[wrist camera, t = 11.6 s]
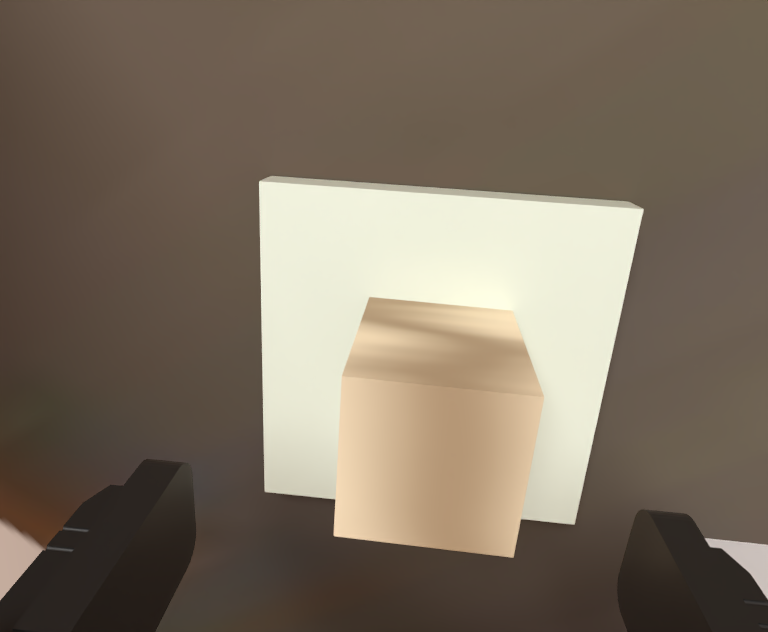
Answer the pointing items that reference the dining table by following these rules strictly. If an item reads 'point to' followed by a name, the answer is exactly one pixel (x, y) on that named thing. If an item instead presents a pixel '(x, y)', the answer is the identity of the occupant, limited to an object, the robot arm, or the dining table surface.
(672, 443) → the dining table surface
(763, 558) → the white block
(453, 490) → the beech block
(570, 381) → the plate
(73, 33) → the dining table surface
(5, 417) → the dining table surface
